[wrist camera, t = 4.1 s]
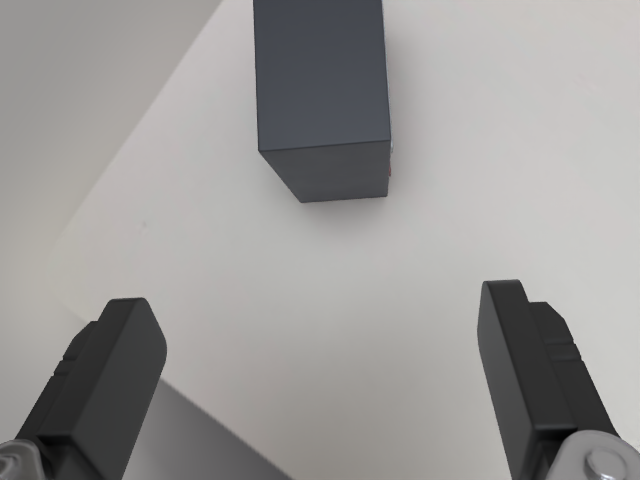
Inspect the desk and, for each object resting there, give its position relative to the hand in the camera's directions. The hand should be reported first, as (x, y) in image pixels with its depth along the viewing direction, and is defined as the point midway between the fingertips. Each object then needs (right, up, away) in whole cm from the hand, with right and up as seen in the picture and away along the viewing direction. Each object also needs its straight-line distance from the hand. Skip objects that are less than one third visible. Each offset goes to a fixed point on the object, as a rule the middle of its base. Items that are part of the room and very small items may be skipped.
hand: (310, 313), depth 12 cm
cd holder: (+1, +9, +17) cm, 19 cm away
